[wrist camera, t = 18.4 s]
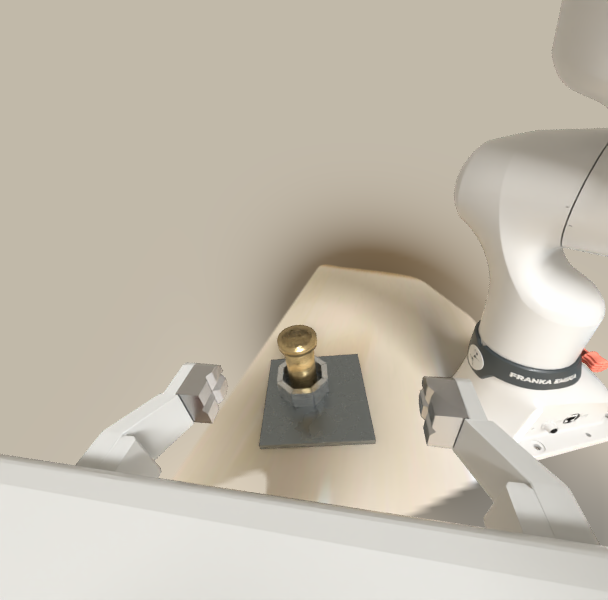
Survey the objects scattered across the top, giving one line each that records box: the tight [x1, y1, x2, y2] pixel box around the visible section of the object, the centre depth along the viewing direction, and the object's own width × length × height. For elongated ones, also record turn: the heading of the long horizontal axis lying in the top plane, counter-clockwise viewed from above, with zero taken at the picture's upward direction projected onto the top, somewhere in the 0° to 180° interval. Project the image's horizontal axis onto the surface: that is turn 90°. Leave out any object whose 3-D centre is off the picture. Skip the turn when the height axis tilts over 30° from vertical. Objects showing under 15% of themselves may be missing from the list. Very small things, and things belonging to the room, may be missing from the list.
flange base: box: [259, 354, 376, 449], centre depth 49 cm, size 18×18×4 cm
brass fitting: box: [277, 325, 317, 389], centre depth 48 cm, size 6×6×12 cm
